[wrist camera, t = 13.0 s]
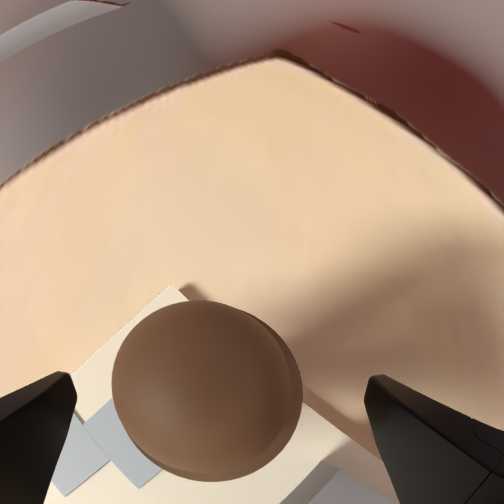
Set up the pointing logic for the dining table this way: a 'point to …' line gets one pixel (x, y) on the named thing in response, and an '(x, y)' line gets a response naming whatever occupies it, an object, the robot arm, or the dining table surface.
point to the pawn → (206, 391)
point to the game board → (196, 492)
